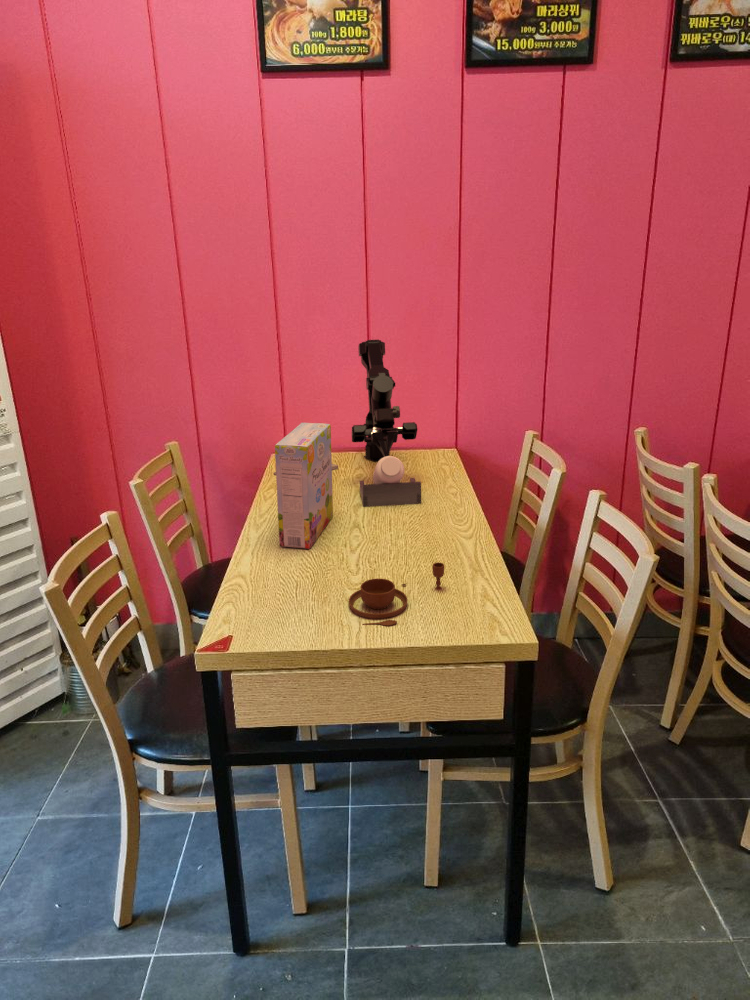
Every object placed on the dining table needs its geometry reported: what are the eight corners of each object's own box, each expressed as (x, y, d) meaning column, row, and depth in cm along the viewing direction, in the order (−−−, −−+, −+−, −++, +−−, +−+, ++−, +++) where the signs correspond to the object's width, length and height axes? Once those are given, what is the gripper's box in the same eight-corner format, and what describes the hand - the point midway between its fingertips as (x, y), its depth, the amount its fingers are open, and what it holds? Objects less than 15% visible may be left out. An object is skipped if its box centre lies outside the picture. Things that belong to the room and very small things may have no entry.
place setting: (350, 587, 160) (349, 562, 158) (444, 585, 159) (444, 560, 157) (346, 629, 143) (345, 602, 141) (450, 627, 143) (451, 600, 141)
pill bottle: (369, 488, 213) (373, 475, 198) (376, 462, 215) (381, 447, 200) (395, 496, 213) (401, 483, 199) (403, 469, 215) (409, 456, 200)
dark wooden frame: (359, 490, 215) (359, 470, 213) (414, 487, 216) (414, 467, 214) (363, 506, 203) (362, 486, 201) (421, 503, 204) (421, 482, 202)
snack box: (313, 550, 177) (307, 446, 168) (278, 548, 178) (270, 445, 169) (336, 516, 197) (331, 421, 188) (304, 515, 198) (298, 421, 189)
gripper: (350, 397, 210) (354, 446, 203) (416, 394, 211) (422, 442, 205) (350, 418, 220) (353, 465, 214) (412, 414, 221) (418, 461, 215)
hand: (386, 458), depth 212 cm, fingers closed
